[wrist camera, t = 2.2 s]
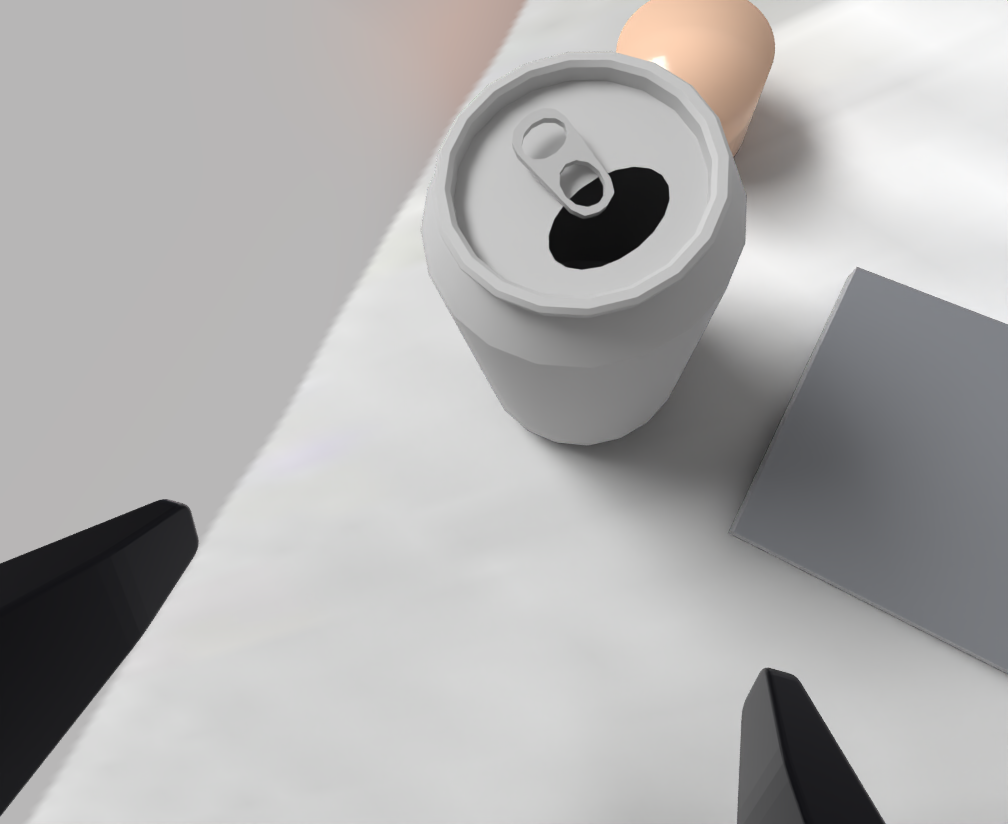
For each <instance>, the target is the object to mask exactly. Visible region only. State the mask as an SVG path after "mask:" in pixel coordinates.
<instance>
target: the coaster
mask: <svg viewBox="0 0 1008 824" xmlns="http://www.w3.org/2000/svg"><path fill="white" fill-rule="evenodd" d="M729 533H730V534H732V535H734V536H736V537H738V538H740V539H742V540H744V541H745V542H747V543H749V544H751V545H753V546H755V547H757V548H759V549H761V550H763V551H765V552H767V553H769V554H771V555H773V556H775V557H777V558H779V559H781V560H783V561H785V562H787V563H789V564H791V565H793V566H795V567H797V568H799V569H801V570H803V571H805V572H807V573H809V574H811V575H813V576H815V577H817V578H819V579H821V580H823V581H825V582H827V583H829V584H830V585H832V586H834V587H836V588H838V589H840V590H842V591H844V592H846V593H848V594H850V595H852V596H854V597H856V598H858V599H860V600H862V601H864V602H866V603H868V604H870V605H872V606H874V607H876V608H878V609H880V610H882V611H884V612H886V613H888V614H890V615H892V616H894V617H896V618H898V619H900V620H902V621H904V622H906V623H908V624H910V625H912V626H914V627H915V628H917V629H919V630H921V631H923V632H925V633H927V634H929V635H931V636H933V637H935V638H937V639H939V640H941V641H943V642H945V643H947V644H949V645H951V646H953V647H955V648H957V649H959V650H961V651H963V652H965V653H967V654H969V655H971V656H973V657H975V658H977V659H979V660H981V661H983V662H985V663H987V664H989V665H991V666H993V667H995V668H997V669H999V670H1000V671H1002V672H1004V673H1006V674H1008V324H1005V323H1002V322H1000V321H997V320H994V319H992V318H989V317H987V316H984V315H981V314H979V313H976V312H974V311H971V310H968V309H966V308H963V307H960V306H958V305H955V304H953V303H950V302H947V301H945V300H942V299H940V298H937V297H934V296H932V295H929V294H926V293H924V292H921V291H919V290H916V289H913V288H911V287H908V286H906V285H903V284H900V283H898V282H895V281H893V280H890V279H887V278H885V277H882V276H879V275H877V274H874V273H872V272H869V271H866V270H864V269H861V268H859V267H857V268H856V269H855V270H854V271H853V272H852V273H851V274H850V275H849V276H848V278H847V280H846V282H845V284H844V287H843V289H842V291H841V293H840V295H839V297H838V299H837V302H836V304H835V306H834V308H833V310H832V312H831V314H830V317H829V319H828V321H827V323H826V325H825V327H824V329H823V331H822V334H821V336H820V338H819V340H818V342H817V344H816V346H815V349H814V351H813V353H812V355H811V357H810V359H809V361H808V364H807V366H806V368H805V370H804V372H803V374H802V376H801V379H800V381H799V383H798V385H797V387H796V389H795V391H794V394H793V396H792V398H791V400H790V402H789V404H788V406H787V409H786V411H785V413H784V415H783V417H782V419H781V421H780V424H779V426H778V428H777V430H776V432H775V434H774V436H773V439H772V441H771V443H770V445H769V447H768V449H767V451H766V454H765V456H764V458H763V460H762V462H761V464H760V466H759V468H758V471H757V473H756V475H755V477H754V479H753V481H752V483H751V486H750V488H749V490H748V492H747V494H746V496H745V498H744V501H743V503H742V505H741V507H740V509H739V511H738V513H737V516H736V518H735V520H734V522H733V524H732V526H731V528H730V531H729Z"/></svg>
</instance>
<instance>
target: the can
mask: <svg viewBox="0 0 1008 824" xmlns="http://www.w3.org/2000/svg"><path fill="white" fill-rule="evenodd" d="M746 199H747V195H746V192H745V189H744V187H743V184H742V181H741V178H740V175H739V172H738V169H737V166H736V164H735V161H734V158H733V155H732V152H731V151H730V148H729V145H728V142H727V139H726V136H725V133H724V131H723V128H722V125H721V122H720V119H719V117H718V116H717V115H716V114H715V113H714V111H713V110H712V109H711V108H710V106H709V105H708V104H707V103H706V102H705V100H704V99H703V98H702V97H701V96H700V94H699V93H698V92H697V91H696V90H695V88H694V87H693V86H692V85H690V84H689V83H687V82H686V81H684V80H682V79H681V78H679V77H677V76H676V75H674V74H673V73H671V72H669V71H668V70H666V69H665V68H663V67H661V66H660V65H658V64H656V63H654V62H650V61H646V60H643V59H639V58H635V57H631V56H628V55H624V54H620V53H616V52H566V53H562V54H559V55H555V56H551V57H548V58H544V59H540V60H537V61H533V62H529V63H526V64H523V65H522V66H520V67H518V68H517V69H515V70H513V71H511V72H510V73H508V74H506V75H504V76H503V77H501V78H499V79H498V80H496V81H494V82H492V83H491V84H489V85H487V86H486V87H485V88H484V89H483V90H482V91H481V92H480V93H479V94H478V95H477V96H476V97H475V98H474V99H473V100H472V101H471V102H470V103H469V104H468V105H467V106H466V107H465V108H464V109H463V111H462V112H461V113H460V114H459V115H458V116H457V117H456V119H455V121H454V123H453V125H452V127H451V128H450V130H449V132H448V134H447V136H446V138H445V140H444V142H443V144H442V146H441V148H440V150H439V151H438V154H437V161H436V167H435V173H434V176H433V178H432V180H431V182H430V184H429V186H428V189H427V195H426V201H425V207H424V213H423V220H422V226H421V235H422V241H423V246H424V252H425V257H426V262H427V268H428V273H429V276H430V278H431V280H432V281H433V283H434V285H435V287H436V289H437V290H438V292H439V294H440V296H441V298H442V299H443V301H444V303H445V305H446V307H447V308H448V310H449V312H450V314H451V316H452V317H453V319H454V321H455V323H456V325H457V326H458V328H459V330H460V332H461V334H462V335H463V337H464V339H465V341H466V343H467V344H468V346H469V348H470V350H471V352H472V353H473V355H474V357H475V359H476V361H477V362H478V364H479V366H480V368H481V370H482V371H483V373H484V375H485V377H486V379H487V381H488V382H489V384H490V386H491V388H492V389H493V391H494V393H495V394H496V396H497V398H498V400H499V401H500V403H501V405H502V406H503V408H504V410H505V411H506V412H507V413H508V414H509V415H511V416H512V417H513V418H514V419H515V420H516V421H518V422H519V423H520V424H521V425H522V426H523V427H524V428H526V429H527V430H528V431H530V432H533V433H535V434H537V435H540V436H542V437H544V438H547V439H549V440H552V441H554V442H556V443H567V444H578V445H593V444H597V443H602V442H606V441H611V440H615V439H620V438H622V437H623V436H625V435H627V434H628V433H630V432H632V431H634V430H635V429H637V428H639V427H640V426H642V425H644V424H646V423H647V422H648V421H649V420H650V419H651V418H652V417H653V416H654V414H655V413H656V412H657V411H658V410H659V409H660V408H661V407H662V405H663V404H664V403H665V402H666V401H667V400H668V398H669V397H670V395H671V393H672V391H673V389H674V387H675V385H676V383H677V381H678V380H679V378H680V376H681V374H682V372H683V370H684V368H685V366H686V364H687V362H688V361H689V359H690V357H691V355H692V353H693V351H694V349H695V347H696V345H697V344H698V342H699V340H700V338H701V336H702V334H703V332H704V330H705V328H706V327H707V325H708V323H709V321H710V319H711V317H712V315H713V313H714V311H715V309H716V308H717V306H718V304H719V302H720V300H721V298H722V296H723V294H724V292H725V291H726V289H727V286H728V284H729V281H730V279H731V276H732V274H733V271H734V269H735V267H736V264H737V262H738V259H739V257H740V254H741V252H742V250H743V247H744V245H745V233H746Z"/></svg>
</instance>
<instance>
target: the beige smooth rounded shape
mask: <svg viewBox="0 0 1008 824" xmlns="http://www.w3.org/2000/svg"><path fill="white" fill-rule="evenodd" d="M616 53H620V54H624V55H628V56H631V57H635V58H639V59H643V60H646V61H650V62H654V63H656V64H658V65H660V66H661V67H663V68H665V69H666V70H668V71H669V72H671V73H673V74H674V75H676V76H677V77H679V78H681V79H682V80H684V81H686V82H687V83H689V84H690V85H692V86H693V87H694V88H695V90H696V91H697V92H698V93H699V94H700V96H701V97H702V98H703V99H704V100H705V102H706V103H707V104H708V105H709V106H710V108H711V109H712V110H713V111H714V113H715V114H716V115H717V116H718V117H719V119H720V122H721V125H722V128H723V131H724V133H725V136H726V139H727V142H728V145H729V148H730V151H731V152H732V155H733V157H734V156H735V154H736V153H737V152H738V150H739V148H740V147H741V145H742V142H743V140H744V137H745V134H746V132H747V129H748V127H749V124H750V121H751V119H752V116H753V113H754V111H755V108H756V106H757V103H758V100H759V98H760V95H761V92H762V90H763V87H764V85H765V82H766V79H767V77H768V74H769V71H770V69H771V66H772V63H773V59H774V54H775V42H774V36H773V32H772V29H771V27H770V25H769V23H768V21H767V19H766V18H765V16H764V15H763V14H762V13H761V11H760V10H759V9H758V8H757V7H756V6H754V5H753V4H752V3H751V2H749V1H748V0H650V1H649V2H647V3H646V4H644V5H643V6H642V7H640V8H639V9H638V10H637V11H636V12H635V13H634V14H633V15H632V16H631V17H630V19H629V20H628V21H627V23H626V24H625V26H624V28H623V29H622V31H621V34H620V36H619V39H618V43H617V50H616Z"/></svg>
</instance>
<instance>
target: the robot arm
mask: <svg viewBox="0 0 1008 824" xmlns="http://www.w3.org/2000/svg"><path fill="white" fill-rule="evenodd" d="M198 542H199V540H198V536H197V532H196V528H195V524H194V521H193V517H192V513H191V510H190V508H189V507H188V506H187V505H185V504H183V503H179V502H176V501H172V500H168V499H163V500H158V501H156V502H153V503H151V504H148V505H145V506H143V507H140V508H138V509H136V510H133V511H130V512H128V513H126V514H123V515H120V516H118V517H115V518H113V519H111V520H108V521H106V522H103V523H101V524H98V525H96V526H93V527H91V528H88V529H86V530H83V531H81V532H78V533H76V534H73V535H71V536H68V537H66V538H63V539H61V540H58V541H56V542H53V543H51V544H48V545H46V546H43V547H41V548H38V549H36V550H33V551H31V552H28V553H26V554H23V555H21V556H18V557H16V558H13V559H11V560H8V561H6V562H3V563H1V564H0V816H1V815H2V814H3V812H4V811H5V810H6V809H7V807H8V806H9V805H10V804H11V802H12V801H13V800H14V799H15V797H16V796H17V795H18V793H19V792H20V791H21V790H22V788H23V787H24V786H25V784H26V783H27V782H28V781H29V779H30V778H31V777H32V776H33V774H34V773H35V772H36V771H37V769H38V768H39V767H40V765H41V764H42V763H43V761H44V760H45V759H46V758H47V757H48V755H49V754H50V753H51V752H52V750H53V749H54V748H55V746H56V745H57V744H58V743H59V741H60V740H61V739H62V737H63V736H64V735H65V734H66V733H67V731H68V730H69V729H70V727H71V726H72V725H73V724H74V722H75V721H76V720H77V718H78V717H79V716H80V715H81V713H82V712H83V711H84V710H85V708H86V707H87V706H88V705H89V703H90V702H91V701H92V700H93V698H94V697H95V696H96V694H97V693H98V692H99V691H100V689H101V688H102V687H103V686H104V684H105V683H106V682H107V680H108V679H109V678H110V677H111V675H112V674H113V673H114V672H115V670H116V669H117V668H118V667H119V665H120V664H121V663H122V661H123V660H124V659H125V658H126V656H127V655H128V654H129V653H130V651H131V650H132V649H133V647H134V646H135V645H136V643H137V642H138V641H139V639H140V638H141V637H142V635H143V634H144V632H145V631H146V629H147V628H148V627H149V625H150V624H151V622H152V621H153V619H154V618H155V616H156V614H157V613H158V611H159V610H160V608H161V607H162V605H163V604H164V602H165V601H166V599H167V597H168V596H169V594H170V593H171V591H172V590H173V588H174V587H175V585H176V584H177V582H178V580H179V579H180V577H181V576H182V574H183V573H184V571H185V570H186V568H187V567H188V565H189V563H190V562H191V560H192V559H193V557H194V556H195V554H196V551H197V548H198ZM737 824H886V823H885V822H884V820H883V818H882V817H881V815H880V813H879V812H878V810H877V808H876V807H875V805H874V803H873V802H872V800H871V798H870V797H869V795H868V794H867V792H866V790H865V789H864V787H863V785H862V784H861V782H860V780H859V779H858V777H857V775H856V774H855V772H854V770H853V769H852V767H851V765H850V764H849V762H848V760H847V759H846V757H845V755H844V754H843V752H842V750H841V749H840V747H839V745H838V744H837V742H836V740H835V739H834V737H833V735H832V734H831V732H830V730H829V729H828V727H827V725H826V724H825V722H824V720H823V719H822V717H821V715H820V714H819V712H818V710H817V709H816V707H815V706H814V704H813V702H812V701H811V699H810V697H809V696H808V694H807V692H806V691H805V689H804V687H803V686H802V684H801V682H800V681H799V680H798V679H797V678H796V677H795V676H794V675H792V674H789V673H786V672H782V671H779V670H775V669H771V668H764V669H763V670H762V671H761V672H760V673H759V675H758V677H757V679H756V681H755V683H754V685H753V687H752V688H751V690H750V692H749V694H748V696H747V698H746V700H745V703H744V706H743V711H742V720H741V743H740V766H739V789H738V812H737Z"/></svg>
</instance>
